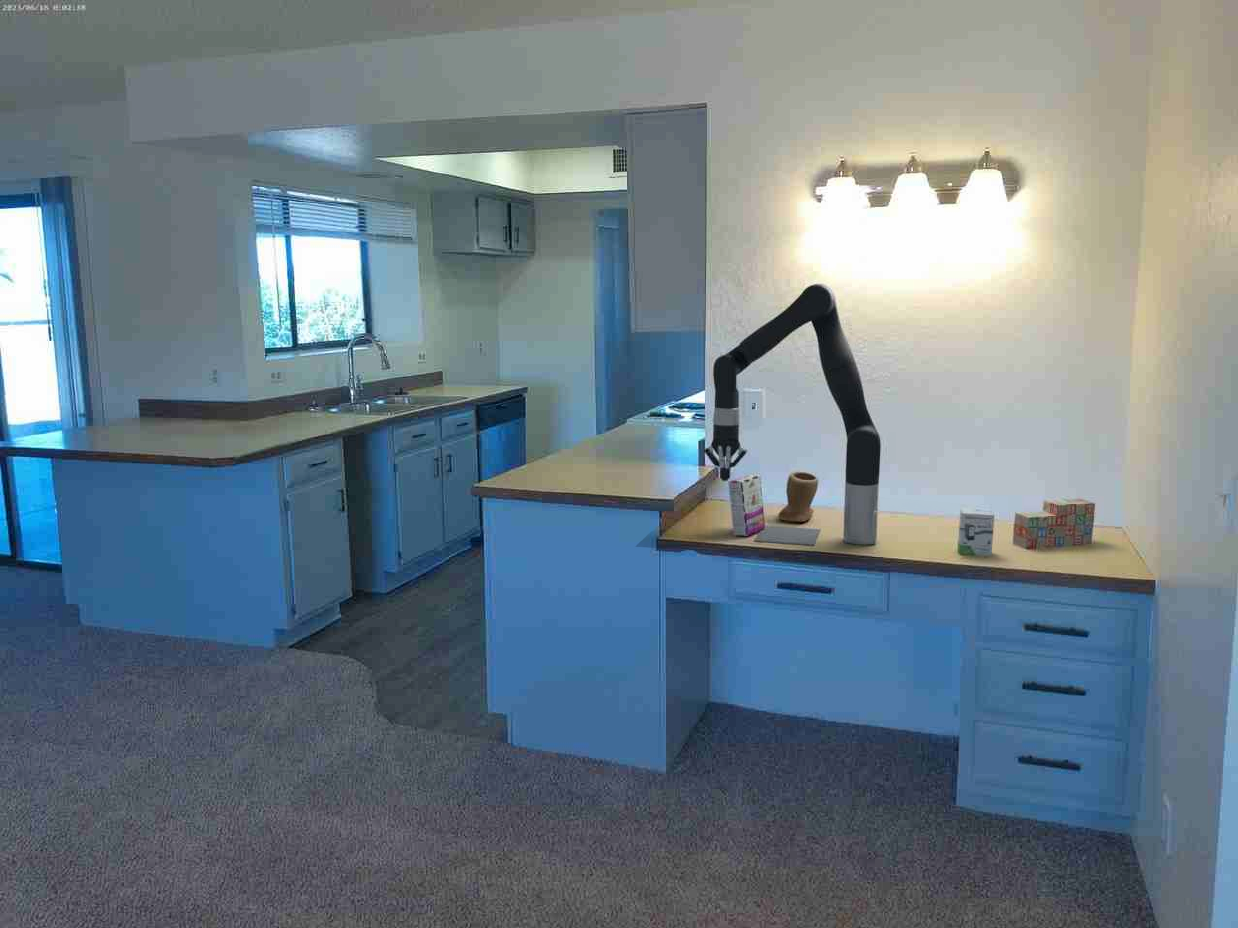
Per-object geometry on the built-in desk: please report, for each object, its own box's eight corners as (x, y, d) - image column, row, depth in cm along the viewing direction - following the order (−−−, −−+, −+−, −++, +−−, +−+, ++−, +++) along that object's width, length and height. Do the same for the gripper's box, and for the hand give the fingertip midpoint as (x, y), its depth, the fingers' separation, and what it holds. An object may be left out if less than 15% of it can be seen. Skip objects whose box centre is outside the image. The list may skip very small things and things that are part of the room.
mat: (820, 530, 292) (820, 529, 292) (813, 545, 275) (814, 544, 275) (763, 526, 297) (763, 525, 296) (754, 541, 280) (754, 540, 280)
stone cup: (812, 526, 297) (814, 478, 294) (774, 522, 302) (775, 475, 299) (822, 515, 311) (824, 469, 308) (786, 512, 315) (787, 466, 312)
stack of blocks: (1026, 549, 270) (1029, 506, 268) (1012, 544, 276) (1015, 501, 274) (1092, 544, 275) (1095, 502, 273) (1076, 539, 281) (1080, 497, 279)
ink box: (958, 554, 266) (961, 512, 263) (957, 549, 270) (959, 508, 268) (992, 556, 263) (994, 514, 261) (990, 551, 268) (993, 510, 266)
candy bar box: (751, 528, 295) (746, 474, 293) (765, 528, 292) (761, 474, 290) (732, 535, 286) (727, 481, 284) (747, 536, 283) (742, 481, 281)
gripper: (750, 421, 287) (749, 479, 290) (706, 419, 290) (705, 476, 294) (746, 425, 280) (744, 484, 283) (701, 423, 283) (700, 481, 287)
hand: (724, 480), depth 288 cm, fingers closed
